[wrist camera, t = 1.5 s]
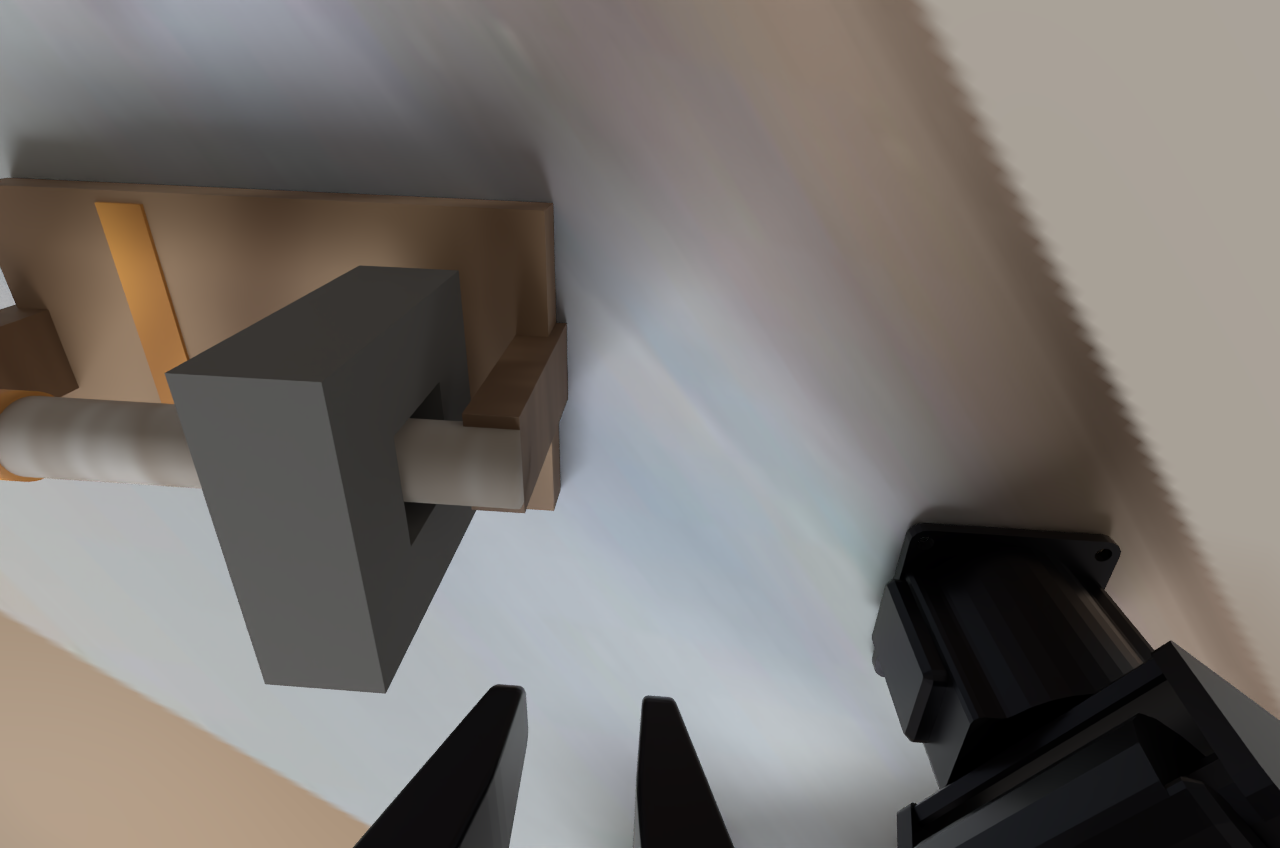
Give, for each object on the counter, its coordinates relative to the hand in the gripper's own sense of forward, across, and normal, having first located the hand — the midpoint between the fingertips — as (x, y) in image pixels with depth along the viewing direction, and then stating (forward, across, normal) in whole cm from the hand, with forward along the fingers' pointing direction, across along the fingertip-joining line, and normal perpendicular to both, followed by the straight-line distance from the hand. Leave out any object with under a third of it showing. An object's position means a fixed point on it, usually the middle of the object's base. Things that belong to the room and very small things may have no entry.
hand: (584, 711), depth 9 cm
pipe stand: (+12, +10, 0) cm, 16 cm away
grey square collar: (+9, +6, 0) cm, 11 cm away
